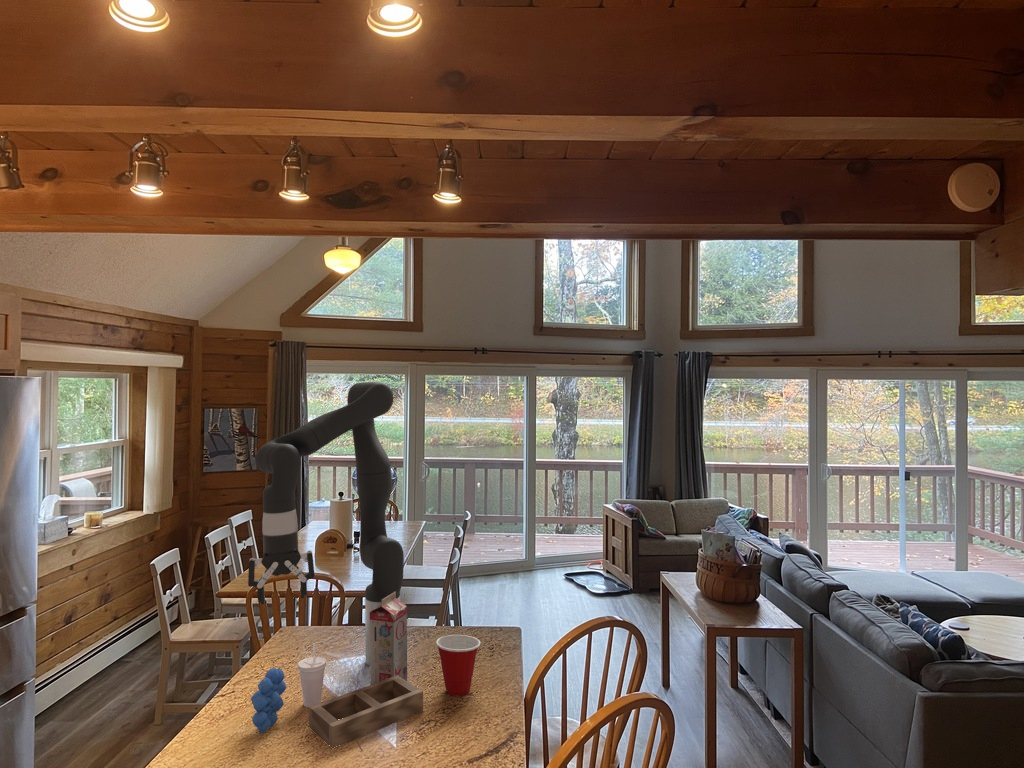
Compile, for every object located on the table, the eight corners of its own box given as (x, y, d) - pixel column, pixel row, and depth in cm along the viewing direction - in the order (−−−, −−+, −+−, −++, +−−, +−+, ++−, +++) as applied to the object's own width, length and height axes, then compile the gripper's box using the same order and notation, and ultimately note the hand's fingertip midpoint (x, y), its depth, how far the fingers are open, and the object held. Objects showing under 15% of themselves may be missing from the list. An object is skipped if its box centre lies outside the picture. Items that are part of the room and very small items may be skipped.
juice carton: (407, 680, 156) (406, 592, 156) (393, 693, 150) (393, 601, 150) (384, 677, 158) (383, 590, 158) (369, 688, 152) (369, 598, 152)
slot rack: (397, 693, 149) (397, 675, 149) (423, 711, 141) (423, 691, 141) (309, 727, 134) (309, 706, 134) (332, 749, 126) (332, 726, 126)
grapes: (264, 711, 141) (264, 658, 142) (293, 713, 141) (292, 659, 141) (236, 740, 130) (236, 682, 130) (266, 741, 129) (266, 683, 129)
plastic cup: (490, 689, 151) (489, 639, 151) (457, 705, 143) (456, 653, 143) (460, 675, 158) (459, 628, 159) (427, 690, 151) (426, 641, 151)
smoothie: (318, 712, 141) (317, 650, 141) (292, 709, 142) (292, 647, 142) (331, 698, 147) (331, 639, 147) (307, 696, 148) (306, 637, 149)
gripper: (312, 523, 149) (314, 590, 149) (247, 530, 144) (250, 599, 144) (313, 530, 142) (315, 600, 142) (245, 537, 137) (248, 610, 137)
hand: (282, 600), depth 143 cm, fingers open, 8 cm apart
